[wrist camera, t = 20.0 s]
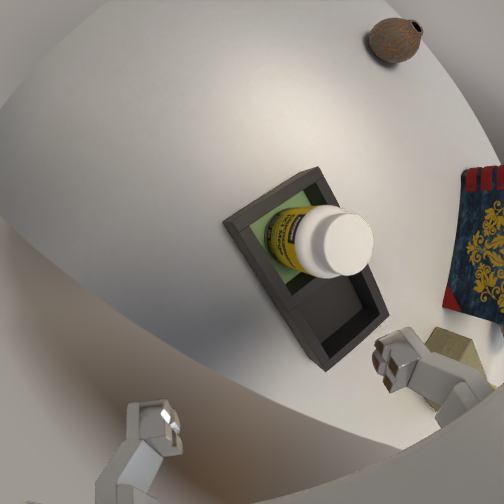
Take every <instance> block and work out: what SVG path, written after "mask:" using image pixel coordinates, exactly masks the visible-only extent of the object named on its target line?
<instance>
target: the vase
mask: <svg viewBox="0 0 504 504" xmlns="http://www.w3.org/2000/svg"><path fill="white" fill-rule="evenodd" d="M422 34H423V29H422V27H421V25H420V24H419V23H418V22H417V21H415V20H405V19H400V18H388V19H385V20H382V21H380V22H379V23H377V24H376V25H375V26H374V27H373V29H372V30H371V32H370V35H369V44H370V47H371V49H372V51H373V52H374V54H375V55H376V56H377V57H379V58H380V59H382V60H384V61H386V62H390V63H400V62H404V61H406V60H408V59H410V58H411V57H413V56H414V55H415V53H416V52H417V51H418V49H419V45H420V39H421V36H422Z"/></svg>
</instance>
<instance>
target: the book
mask: <svg viewBox="0 0 504 504" xmlns="http://www.w3.org/2000/svg"><path fill="white" fill-rule="evenodd" d="M461 182H462V185H461V199H460V209H459V219H458V227H457V234H456V241H455V248H454V254H453V260H452V265H451V270H450V275H449V280H448V284H447V288H446V292H445V297H444V301H443V306H442V307H444V308H447V309H451V310H455V311H458V312H461V313H465V314H468V315H472V316H475V317H478V318H482V319H485V320H489V321H492V322H495V323H499V324H502V325H504V165H500V166H499V167H498V166H486V167H484V168H482V167H477V168H470V169H469V170H465V171H464V172H463V173H462V175H461Z"/></svg>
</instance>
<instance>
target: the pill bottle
mask: <svg viewBox="0 0 504 504" xmlns="http://www.w3.org/2000/svg"><path fill="white" fill-rule="evenodd" d="M265 243H266V247H267V250H268V252H269V254H270V255H271V256H272V258H273V259H275V260H276V261H277V262H279V263H280V264H282V265H285V266H287V267H290V268H293V269H296V270H298V271H301V272H304V273H307V274H310V275H312V276H315V277H319V278H334V277H337V276H340V275H345V276H350V275H354V274H356V273H358V272H360V271H361V270H362V269H363V268H364V267H365V266H366V265H367V264H368V262H369V260H370V258H371V255H372V252H373V245H374V241H373V234H372V231H371V228H370V226H369V225H368V223H367V222H366V221H365V220H364V219H363V218H362V217H360V216H358V215H356V214H352V213H348V212H346V211H345V210H343V209H342V208H339V207H336V206H332V205H318V206H304V207H292V208H286V209H283V210H281V211H279V212H278V213H276V214H275V215H274V216H273V217H272V218H271V220H270V221H269V223H268V225H267V228H266V232H265Z"/></svg>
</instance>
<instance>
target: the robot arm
mask: <svg viewBox="0 0 504 504" xmlns="http://www.w3.org/2000/svg"><path fill="white" fill-rule="evenodd" d="M374 346H375V348H376V349H375V351H374V352H373V354H372V362H373V366H374V368H375V370H376V372H377V373H378V374H380V375H382V376H383V383H384V385H385V386H386V388H387V390H388V391H389V393H392V392H395V391H397V390H399V389H401V388H404V387H406V386H407V387H408V388H410V389H412V390H414V391H415V392H417V393H419V394H421V395H422V396H424V397H426V398H428V399H429V400H431V401H433V402H435V403H436V404H438V405H440V406H441V408H440V409H439V411H438V412H437V413H436V415H435V419H436V421H437V422H438V424H439V426H440V427H441V429H439V430H438V431H436V432H434V433H433V434H431V435H429V436H428V437H426V438H424V439H422V440H421V441H419V442H417V443H415V444H413V445H412V446H410V447H408V448H406V449H404V450H402V451H400V452H398V453H396V454H395V455H392V456H390V457H388V458H386V459H384V460H382V461H380V462H378V463H375V464H373V465H371V466H369V467H366V468H364V469H362V470H359V471H357V472H355V473H352V474H350V475H347V476H344V477H342V478H339V479H337V480H334V481H331V482H328V483H325V484H322V485H319V486H316V487H313V488H310V489H307V490H303V491H300V492H297V493H293V494H289V495H286V496H282V497H278V498H274V499H270V500H266V501H261V502H257V503H252V504H504V383H503V384H502V385H501V386H499V387H498V388H497V389H496V390H494V389H493V388H492V386H491V385H490V384H489V382H488V381H487V380H486V379H485V377H484V376H483V375H482V373H481V372H480V371H479V370H478V369H476V368H474V367H471V366H469V365H466V364H463V363H461V362H458V361H456V360H453V359H451V358H449V357H446V356H444V355H441V354H439V353H436V352H432V353H431V352H430V351H429V349H428V348H427V347H426V346H425V344H424V343H423V342H422V341H421V339H420V338H419V337H418V336H417V334H416V333H415V332H414V331H413V330H412V328H411V327H409V326H408V327H405V328H403V329H401V330H398V331H395V332H393V333H391V334H388V335H386V336H384V337H381V338H379V339H377V340H376V341H375V344H374ZM180 430H181V427H180V421H179V417H178V414H177V412H176V411H175V409H174V408H171V407H170V402H169V401H168V400H167V399H159V400H153V401H145V402H136V403H129V404H128V407H127V425H126V441H122V443H121V445H120V446H119V448H118V449H117V450H116V452H115V454H114V455H113V457H112V458H111V460H110V461H109V463H108V464H107V466H106V467H105V469H104V470H103V472H102V473H101V475H100V476H99V478H98V480H97V481H96V483H95V504H160V501H159V500H158V499H157V498H155V497H153V496H150V495H149V494H147V492H148V490H149V488H150V486H151V483H152V482H153V479H154V477H155V475H156V473H157V471H158V469H159V467H160V465H161V462H162V460H163V457H166V456H174V455H180V454H183V446H182V439H181V438H180V437H179V436H178V433H179V432H180ZM23 504H40V503H35V502H31V501H27V502H24V503H23Z"/></svg>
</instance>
